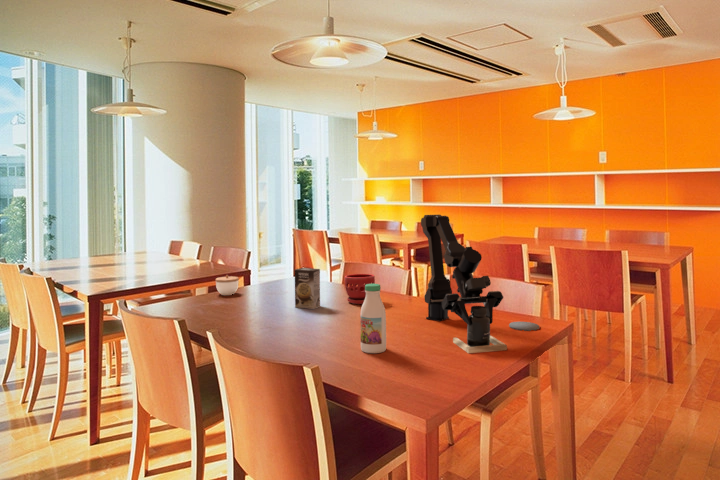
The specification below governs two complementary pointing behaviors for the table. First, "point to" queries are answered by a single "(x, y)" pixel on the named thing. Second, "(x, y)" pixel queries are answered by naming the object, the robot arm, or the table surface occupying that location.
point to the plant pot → (357, 287)
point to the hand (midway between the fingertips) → (480, 324)
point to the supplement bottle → (478, 327)
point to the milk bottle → (373, 321)
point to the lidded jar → (227, 285)
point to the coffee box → (307, 288)
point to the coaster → (524, 326)
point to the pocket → (496, 347)
